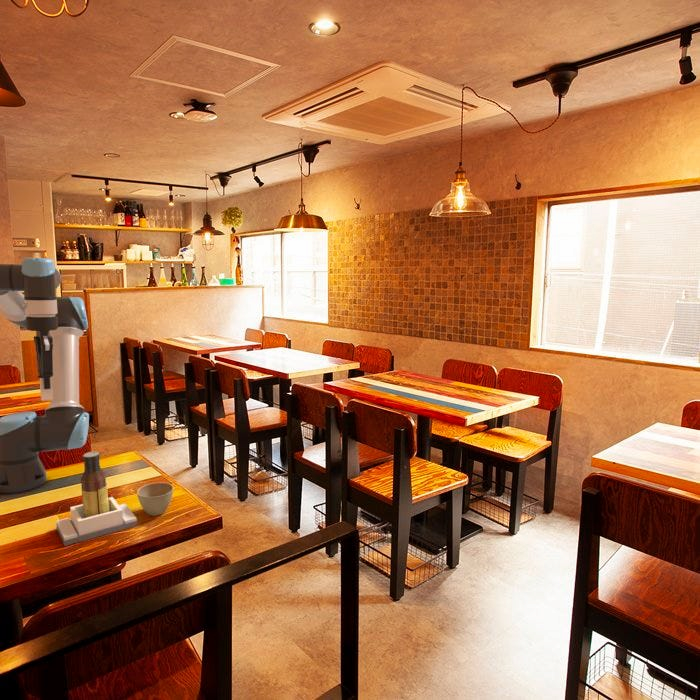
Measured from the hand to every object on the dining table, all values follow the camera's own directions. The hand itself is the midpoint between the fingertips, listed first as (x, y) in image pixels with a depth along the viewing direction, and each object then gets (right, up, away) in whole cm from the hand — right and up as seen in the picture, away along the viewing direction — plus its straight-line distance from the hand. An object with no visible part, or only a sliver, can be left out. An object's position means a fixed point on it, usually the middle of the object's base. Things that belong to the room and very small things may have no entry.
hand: (47, 399), depth 143 cm
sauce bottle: (+14, -34, -1) cm, 37 cm away
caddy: (+14, -35, -1) cm, 38 cm away
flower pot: (+27, -34, +9) cm, 45 cm away
